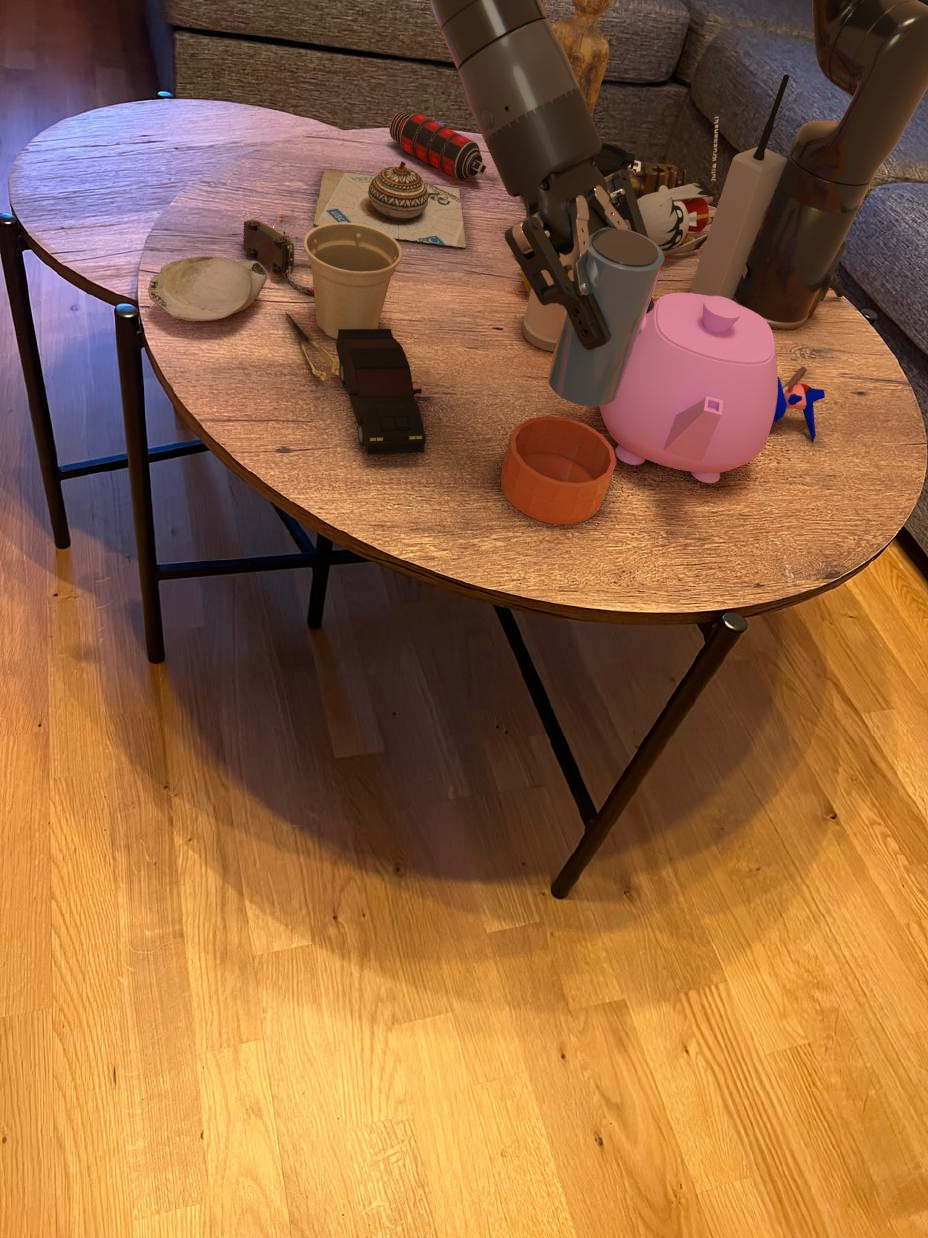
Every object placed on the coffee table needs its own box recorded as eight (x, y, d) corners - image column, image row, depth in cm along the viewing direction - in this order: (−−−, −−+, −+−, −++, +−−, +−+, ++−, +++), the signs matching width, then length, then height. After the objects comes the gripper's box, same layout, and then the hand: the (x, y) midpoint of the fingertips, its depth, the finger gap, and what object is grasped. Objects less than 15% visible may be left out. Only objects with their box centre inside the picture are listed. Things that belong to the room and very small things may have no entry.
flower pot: (291, 300, 101) (294, 220, 95) (379, 298, 104) (388, 221, 98) (310, 354, 96) (315, 273, 89) (403, 350, 99) (413, 272, 92)
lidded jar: (466, 250, 113) (475, 192, 109) (310, 227, 111) (313, 166, 107) (465, 201, 125) (474, 146, 120) (324, 179, 123) (327, 122, 118)
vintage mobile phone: (736, 299, 117) (819, 75, 98) (712, 311, 114) (792, 84, 96) (711, 285, 118) (788, 62, 100) (687, 297, 116) (761, 70, 97)
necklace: (292, 300, 102) (292, 292, 101) (282, 265, 105) (282, 256, 105) (331, 299, 103) (332, 291, 102) (320, 264, 107) (320, 256, 106)
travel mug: (577, 359, 103) (633, 172, 88) (517, 343, 103) (562, 153, 88) (584, 328, 107) (638, 144, 92) (526, 313, 107) (571, 127, 92)
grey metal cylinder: (595, 357, 83) (638, 222, 74) (631, 401, 80) (680, 264, 71) (534, 366, 81) (570, 227, 72) (569, 411, 77) (611, 272, 68)
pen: (771, 413, 102) (775, 406, 101) (764, 410, 102) (768, 402, 101) (808, 369, 109) (812, 362, 108) (801, 366, 109) (805, 359, 108)
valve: (569, 192, 133) (573, 152, 130) (677, 197, 133) (684, 158, 130) (573, 208, 127) (578, 167, 124) (687, 213, 128) (694, 173, 125)
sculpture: (572, 242, 120) (646, -40, 97) (548, 260, 116) (619, -29, 93) (525, 220, 121) (586, -62, 99) (499, 237, 117) (558, -52, 95)
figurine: (765, 389, 96) (743, 428, 99) (836, 407, 97) (812, 445, 100) (758, 362, 99) (737, 401, 103) (827, 380, 100) (804, 417, 104)
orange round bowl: (570, 447, 93) (582, 409, 90) (620, 513, 88) (635, 475, 85) (483, 463, 89) (492, 424, 86) (530, 533, 84) (541, 494, 81)
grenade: (421, 118, 131) (508, 163, 126) (405, 153, 132) (490, 199, 127) (396, 99, 125) (487, 145, 120) (379, 136, 126) (468, 183, 121)
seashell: (288, 285, 95) (285, 327, 99) (251, 235, 98) (249, 278, 102) (171, 308, 89) (172, 351, 93) (135, 254, 93) (138, 298, 97)
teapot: (541, 490, 88) (584, 347, 77) (563, 367, 101) (602, 230, 90) (753, 541, 88) (827, 406, 77) (747, 412, 101) (809, 281, 90)
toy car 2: (357, 467, 86) (362, 422, 82) (326, 361, 95) (330, 316, 92) (430, 464, 88) (438, 419, 84) (393, 359, 97) (398, 315, 93)
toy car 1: (280, 241, 99) (344, 235, 104) (220, 204, 106) (283, 200, 111) (279, 279, 102) (341, 271, 106) (220, 240, 108) (281, 234, 113)
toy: (736, 246, 124) (662, 269, 116) (675, 239, 130) (601, 261, 122) (745, 114, 116) (667, 130, 108) (680, 114, 122) (601, 128, 114)
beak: (278, 317, 99) (276, 305, 98) (302, 311, 100) (301, 299, 99) (317, 386, 93) (315, 374, 92) (343, 379, 93) (342, 367, 92)
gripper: (509, 109, 63) (612, 351, 68) (621, 64, 71) (705, 282, 77) (434, 158, 68) (535, 378, 74) (546, 111, 77) (629, 311, 82)
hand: (621, 328), depth 75 cm, fingers closed on grey metal cylinder, 6 cm apart
